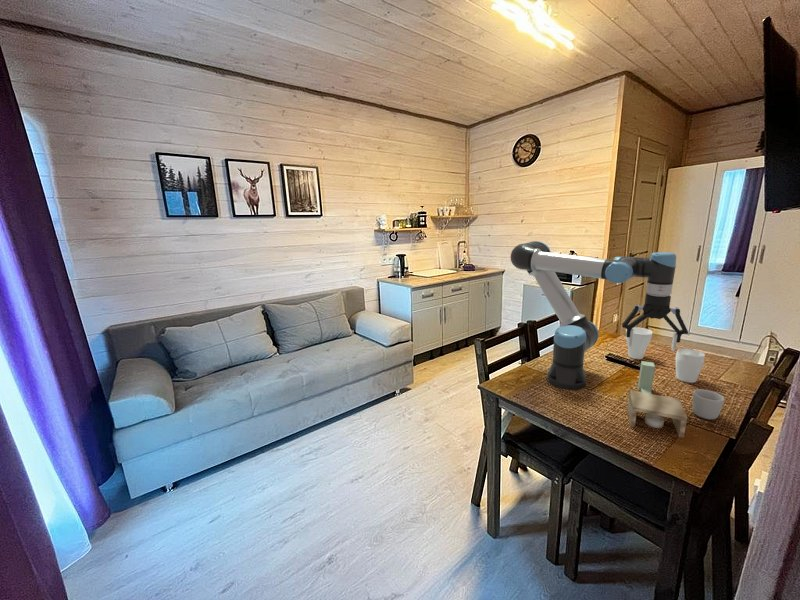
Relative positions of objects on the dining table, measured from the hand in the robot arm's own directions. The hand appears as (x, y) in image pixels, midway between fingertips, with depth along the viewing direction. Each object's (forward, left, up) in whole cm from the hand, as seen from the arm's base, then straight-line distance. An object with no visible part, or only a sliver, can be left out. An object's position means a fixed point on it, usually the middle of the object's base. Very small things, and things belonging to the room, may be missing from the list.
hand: (650, 347), depth 131 cm
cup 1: (0, +35, -18) cm, 39 cm away
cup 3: (+16, -11, -18) cm, 27 cm away
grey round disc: (0, -25, -18) cm, 31 cm away
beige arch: (0, -24, -18) cm, 30 cm away
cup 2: (+16, +17, -18) cm, 29 cm away
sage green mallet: (0, -8, -18) cm, 20 cm away
